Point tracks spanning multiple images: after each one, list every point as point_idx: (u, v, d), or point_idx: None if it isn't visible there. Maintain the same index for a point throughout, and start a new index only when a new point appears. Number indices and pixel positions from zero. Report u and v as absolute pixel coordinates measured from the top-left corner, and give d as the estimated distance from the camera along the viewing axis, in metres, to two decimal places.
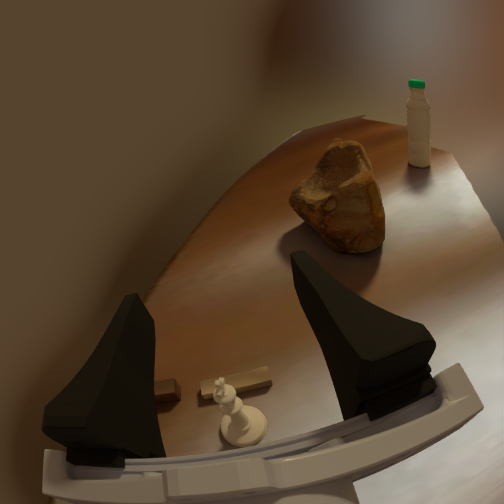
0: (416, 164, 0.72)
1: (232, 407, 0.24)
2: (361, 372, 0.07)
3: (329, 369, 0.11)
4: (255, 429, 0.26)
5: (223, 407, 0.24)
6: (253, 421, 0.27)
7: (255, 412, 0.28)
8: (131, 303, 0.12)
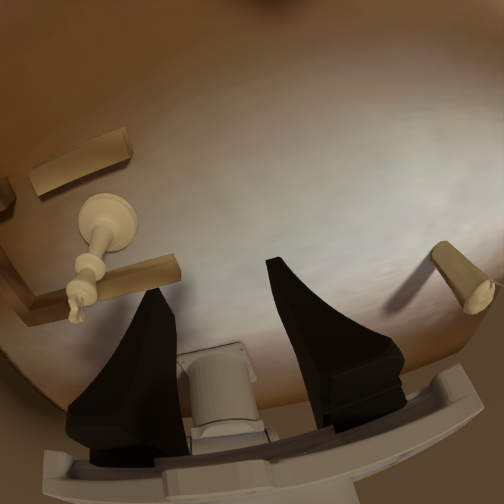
0: None
1: None
2: (322, 386, 0.07)
3: (303, 377, 0.11)
4: (124, 235, 0.21)
5: None
6: (119, 226, 0.20)
7: (118, 211, 0.20)
8: (154, 297, 0.12)
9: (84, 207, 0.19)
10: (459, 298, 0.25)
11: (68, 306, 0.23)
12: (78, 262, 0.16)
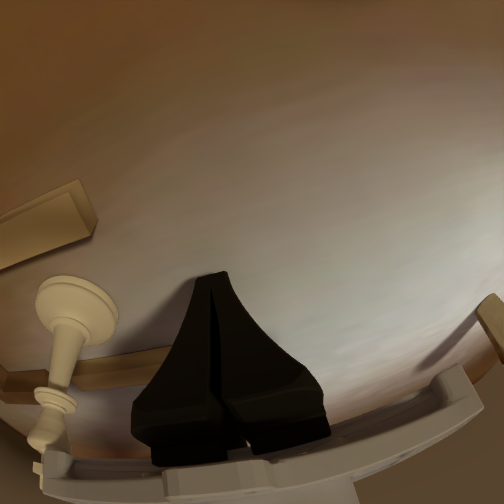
0: None
1: (63, 414, 0.10)
2: (230, 409, 0.07)
3: None
4: (100, 332, 0.14)
5: None
6: (91, 324, 0.13)
7: (87, 305, 0.13)
8: (209, 284, 0.12)
9: (39, 295, 0.12)
10: None
11: None
12: (37, 396, 0.09)
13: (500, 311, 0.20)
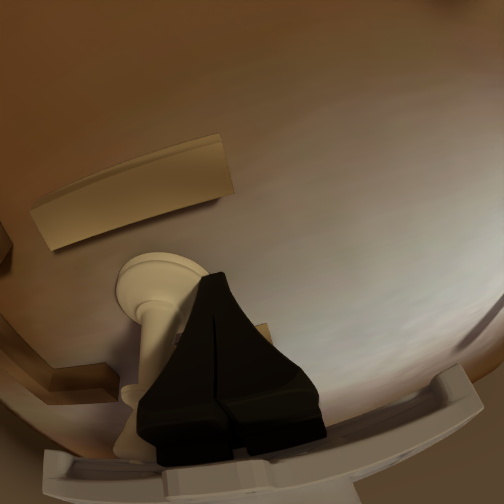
0: None
1: None
2: (226, 410, 0.07)
3: None
4: None
5: None
6: (188, 309, 0.13)
7: (190, 287, 0.12)
8: (213, 283, 0.12)
9: (127, 274, 0.12)
10: None
11: (107, 391, 0.16)
12: (127, 396, 0.09)
13: None
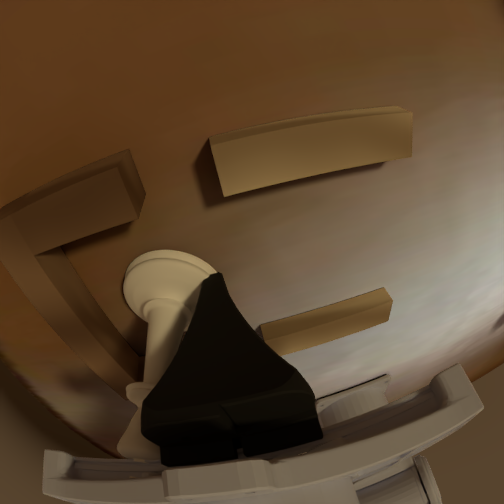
0: None
1: None
2: (221, 411, 0.07)
3: None
4: None
5: None
6: None
7: (197, 285, 0.12)
8: (217, 282, 0.12)
9: (134, 271, 0.12)
10: None
11: None
12: (132, 394, 0.09)
13: None
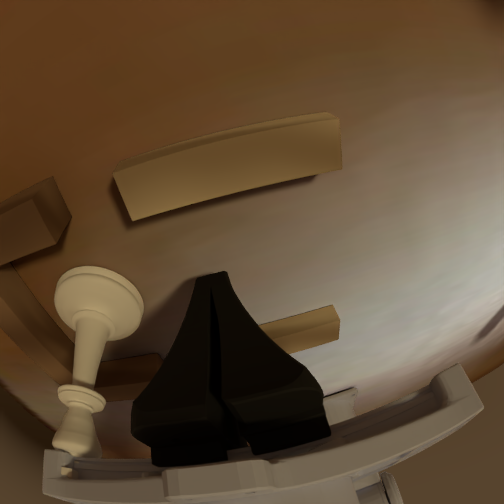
0: None
1: (90, 413, 0.09)
2: (230, 409, 0.07)
3: None
4: (125, 325, 0.14)
5: None
6: (116, 316, 0.13)
7: (113, 296, 0.13)
8: (209, 284, 0.12)
9: (60, 288, 0.12)
10: None
11: None
12: (62, 395, 0.09)
13: None
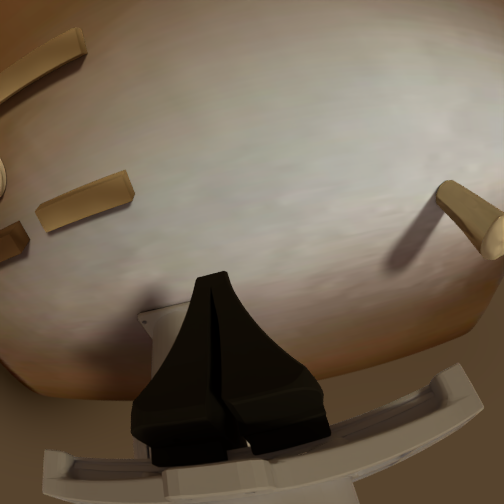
0: None
1: None
2: (230, 409, 0.07)
3: None
4: None
5: None
6: None
7: None
8: (209, 284, 0.12)
9: None
10: (475, 239, 0.20)
11: (13, 239, 0.18)
12: None
13: (459, 190, 0.23)
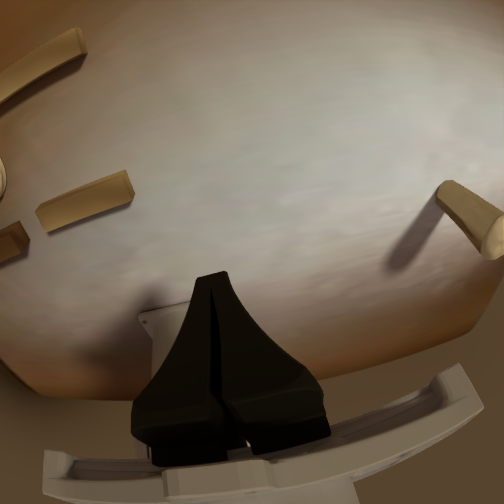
0: None
1: None
2: (230, 409, 0.07)
3: None
4: None
5: None
6: None
7: None
8: (209, 284, 0.12)
9: None
10: (475, 239, 0.20)
11: (13, 239, 0.18)
12: None
13: (459, 190, 0.23)
